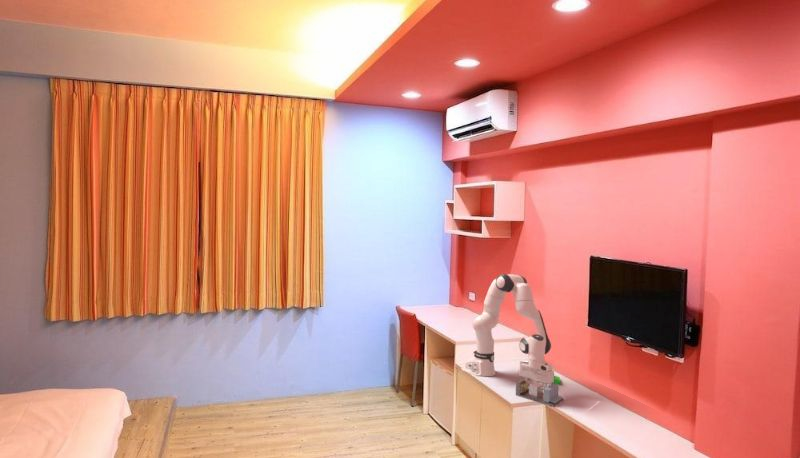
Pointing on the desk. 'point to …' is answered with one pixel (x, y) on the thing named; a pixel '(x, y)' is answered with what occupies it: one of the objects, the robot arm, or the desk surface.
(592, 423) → the desk surface
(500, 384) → the desk surface
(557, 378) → the mechanical part
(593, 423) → the desk surface
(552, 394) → the free jaw
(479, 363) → the robot arm
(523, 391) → the vise base
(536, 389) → the steel block
